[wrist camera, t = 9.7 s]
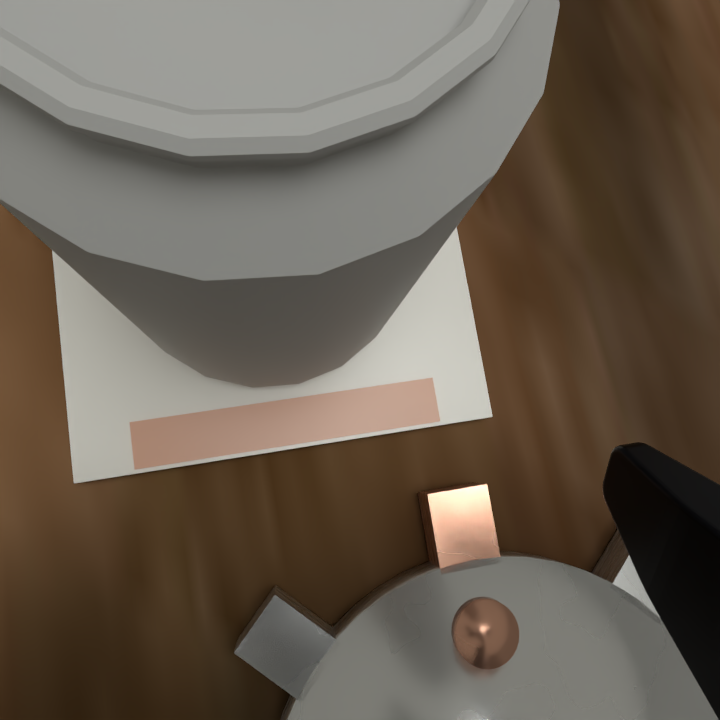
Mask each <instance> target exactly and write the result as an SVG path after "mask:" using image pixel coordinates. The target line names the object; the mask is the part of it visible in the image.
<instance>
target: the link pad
mask: <svg viewBox="0 0 720 720" xmlns="http://www.w3.org/2000/svg"><path fill="white" fill-rule="evenodd" d="M52 254H53V265H54V276H55V287H56V297H57V308H58V319H59V330H60V340H61V351H62V362H63V373H64V383H65V394H66V405H67V416H68V426H69V437H70V448H71V459H72V469H73V480H74V483H82V482H88V481H95V480H101V479H107V478H113V477H120V476H126V475H132V474H139V473H145V472H151V471H157V470H164V469H170V468H176V467H183V466H189V465H195V464H201V463H208V462H214V461H220V460H227V459H233V458H239V457H245V456H252V455H258V454H264V453H271V452H277V451H283V450H289V449H296V448H302V447H308V446H315V445H321V444H327V443H333V442H340V441H346V440H352V439H358V438H365V437H371V436H377V435H384V434H390V433H396V432H402V431H409V430H415V429H421V428H428V427H434V426H440V425H446V424H453V423H459V422H465V421H472V420H478V419H484V418H489V417H493V416H492V411H491V406H490V401H489V395H488V390H487V385H486V380H485V374H484V369H483V364H482V358H481V353H480V348H479V343H478V337H477V332H476V327H475V322H474V316H473V311H472V306H471V301H470V295H469V290H468V285H467V280H466V274H465V269H464V264H463V258H462V253H461V248H460V243H459V237H458V232H457V227H456V228H455V230H454V231H453V232H452V234H451V235H450V237H449V238H448V239H447V241H446V242H445V243H444V245H443V246H442V247H441V249H440V250H439V252H438V253H437V254H436V256H435V257H434V258H433V260H432V261H431V263H430V264H429V265H428V267H427V268H426V269H425V271H424V272H423V273H422V275H421V276H420V278H419V279H418V280H417V282H416V283H415V284H414V286H413V287H412V289H411V290H410V291H409V293H408V294H407V295H406V297H405V298H404V299H403V301H402V302H401V304H400V305H399V306H398V308H397V309H396V310H395V312H394V313H393V315H392V316H391V317H390V319H389V320H388V321H387V323H386V324H385V325H384V327H383V328H382V330H381V331H380V332H379V334H378V335H377V336H376V338H374V339H373V340H372V341H371V342H370V343H369V344H367V345H366V346H365V347H364V348H363V349H362V350H360V351H359V352H358V353H357V354H356V355H355V356H353V357H352V358H351V359H350V360H349V361H348V362H346V363H345V364H344V365H343V366H341V367H339V368H337V369H334V370H332V371H329V372H327V373H324V374H322V375H320V376H317V377H315V378H312V379H310V380H307V381H305V382H303V383H300V384H291V385H278V386H266V387H253V388H252V387H248V386H243V385H239V384H235V383H231V382H226V381H222V380H218V379H214V378H209V377H205V376H204V375H202V374H200V373H199V372H197V371H196V370H194V369H192V368H191V367H189V366H187V365H186V364H184V363H182V362H181V361H179V360H177V359H176V358H174V357H172V356H171V355H169V354H167V353H166V352H164V351H163V350H162V349H161V348H160V347H159V346H158V345H157V344H156V343H154V342H153V341H152V340H151V339H150V338H149V337H148V336H147V335H146V334H144V333H143V332H142V331H141V330H140V329H139V328H138V327H137V326H136V325H135V324H133V323H132V322H131V321H130V320H129V319H128V318H127V317H126V316H125V315H123V314H122V313H121V312H120V311H119V310H118V309H117V308H116V307H115V306H113V305H112V304H111V303H110V302H109V301H108V300H107V299H106V298H105V297H104V296H102V295H101V294H100V293H99V292H98V291H97V290H96V289H95V288H94V287H92V286H91V285H90V284H89V283H88V282H87V281H86V280H85V279H84V278H82V277H81V276H80V275H79V274H78V273H77V272H76V271H75V270H74V269H73V268H71V267H70V266H69V265H68V264H67V263H66V262H65V261H64V260H63V259H61V258H60V257H59V256H58V255H57V254H56V253H55V252H54V251H53V250H52Z"/></svg>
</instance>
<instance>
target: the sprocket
mask: <svg viewBox="0 0 720 720" xmlns="http://www.w3.org/2000/svg"><path fill="white" fill-rule="evenodd" d="M418 497H419V503H420V509H421V515H422V521H423V527H424V533H425V539H426V544H427V550H428V556H429V561H428V562H426V563H424V564H421V565H419V566H416V567H414V568H412V569H409V570H407V571H404V572H402V573H401V574H399V575H397V576H396V577H394V578H392V579H390V580H389V581H387V582H385V583H384V584H382V585H380V586H378V587H377V588H376V589H374V590H373V591H372V592H371V593H369V594H368V595H367V596H365V597H364V598H363V599H362V600H360V601H359V602H358V603H356V604H355V605H354V606H353V607H352V608H351V609H350V610H349V611H348V612H347V613H346V614H345V615H344V616H343V617H342V618H341V619H340V620H339V621H338V622H337V623H336V624H335V625H334V626H333V627H332V626H330V625H329V624H328V623H326V622H325V621H324V620H322V619H321V618H320V617H318V616H317V615H316V614H314V613H313V612H311V611H310V610H309V609H307V608H306V607H305V606H303V605H302V604H301V603H299V602H298V601H297V600H295V599H294V598H292V597H291V596H290V595H288V594H287V593H286V592H284V591H283V590H282V589H280V588H279V587H277V586H276V585H275V586H274V588H273V589H272V591H271V592H270V594H269V595H268V596H267V598H266V599H265V601H264V602H263V603H262V605H261V606H260V608H259V609H258V611H257V612H256V613H255V615H254V616H253V618H252V619H251V620H250V622H249V623H248V625H247V626H246V628H245V629H244V630H243V632H242V633H241V635H240V636H239V637H238V639H237V643H236V647H235V651H234V653H235V654H236V655H238V656H239V657H240V658H242V659H243V660H244V661H246V662H247V663H248V664H250V665H251V666H252V667H254V668H255V669H257V670H258V671H259V672H261V673H262V674H263V675H265V676H266V677H267V678H269V679H270V680H271V681H273V682H274V683H276V684H277V685H278V686H280V687H281V688H282V689H284V690H285V691H286V692H288V693H289V694H290V696H289V698H288V700H287V703H286V705H285V707H284V710H283V712H282V715H281V719H280V720H718V718H717V716H716V714H715V713H714V711H713V709H712V707H711V706H710V704H709V702H708V700H707V699H706V697H705V695H704V693H703V692H702V690H701V688H700V686H699V685H698V683H697V681H696V679H695V678H694V676H693V674H692V672H691V671H690V669H689V667H688V665H687V664H686V662H685V660H684V658H683V657H682V655H681V653H680V651H679V650H678V648H677V646H676V644H675V643H674V641H673V639H672V638H671V636H670V634H669V632H668V631H667V629H666V627H665V625H664V624H663V622H662V620H661V618H660V617H659V615H658V613H657V611H656V610H655V608H654V606H653V604H652V602H651V600H650V599H649V597H648V595H647V593H646V591H645V589H644V587H643V585H642V583H641V581H640V578H639V576H638V574H637V572H636V570H635V567H634V565H633V563H632V561H631V558H630V556H629V554H628V552H627V549H626V547H625V545H624V542H623V540H622V538H621V536H620V533H619V531H618V529H617V531H616V532H615V534H614V536H613V537H612V539H611V541H610V543H609V544H608V546H607V548H606V549H605V551H604V553H603V554H602V556H601V558H600V559H599V561H598V563H597V565H596V566H595V568H594V570H593V571H592V573H590V572H588V571H585V570H583V569H580V568H577V567H574V566H571V565H569V564H566V563H563V562H559V561H556V560H553V559H550V558H546V557H543V556H540V555H534V554H528V553H522V552H516V551H499V546H498V541H497V536H496V530H495V525H494V520H493V514H492V509H491V503H490V498H489V493H488V487H487V484H482V483H467V484H462V485H456V486H450V487H444V488H439V489H433V490H427V491H421V492H418Z"/></svg>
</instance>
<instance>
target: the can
mask: <svg viewBox="0 0 720 720" xmlns="http://www.w3.org/2000/svg"><path fill="white" fill-rule="evenodd" d="M559 7H560V4H559V0H0V203H1V204H2V205H3V206H4V207H5V208H6V209H7V210H8V211H9V212H11V213H12V214H13V215H14V216H15V217H16V218H17V219H18V220H19V221H21V222H22V223H23V224H24V225H25V226H26V227H27V228H28V229H29V230H30V231H32V232H33V233H34V234H35V235H36V236H37V237H38V238H39V239H40V240H42V241H43V242H44V243H45V244H46V245H47V246H48V247H49V248H50V249H51V250H53V251H54V252H55V253H56V254H57V255H58V256H59V257H60V258H61V259H63V260H64V261H65V262H66V263H67V264H68V265H69V266H70V267H71V268H73V269H74V270H75V271H76V272H77V273H78V274H79V275H80V276H81V277H82V278H84V279H85V280H86V281H87V282H88V283H89V284H90V285H91V286H92V287H94V288H95V289H96V290H97V291H98V292H99V293H100V294H101V295H102V296H104V297H105V298H106V299H107V300H108V301H109V302H110V303H111V304H112V305H113V306H115V307H116V308H117V309H118V310H119V311H120V312H121V313H122V314H123V315H125V316H126V317H127V318H128V319H129V320H130V321H131V322H132V323H133V324H135V325H136V326H137V327H138V328H139V329H140V330H141V331H142V332H143V333H144V334H146V335H147V336H148V337H149V338H150V339H151V340H152V341H153V342H154V343H156V344H157V345H158V346H159V347H160V348H161V349H162V350H163V351H164V352H166V353H167V354H169V355H171V356H172V357H174V358H176V359H177V360H179V361H181V362H182V363H184V364H186V365H187V366H189V367H191V368H192V369H194V370H196V371H197V372H199V373H200V374H202V375H204V376H205V377H209V378H214V379H218V380H222V381H226V382H231V383H235V384H239V385H243V386H248V387H252V388H253V387H266V386H278V385H291V384H300V383H303V382H305V381H307V380H310V379H312V378H315V377H317V376H320V375H322V374H324V373H327V372H329V371H332V370H334V369H337V368H339V367H341V366H343V365H344V364H345V363H346V362H348V361H349V360H350V359H351V358H352V357H353V356H355V355H356V354H357V353H358V352H359V351H360V350H362V349H363V348H364V347H365V346H366V345H367V344H369V343H370V342H371V341H372V340H373V339H374V338H376V336H377V335H378V334H379V332H380V331H381V330H382V328H383V327H384V325H385V324H386V323H387V321H388V320H389V319H390V317H391V316H392V315H393V313H394V312H395V310H396V309H397V308H398V306H399V305H400V304H401V302H402V301H403V299H404V298H405V297H406V295H407V294H408V293H409V291H410V290H411V289H412V287H413V286H414V284H415V283H416V282H417V280H418V279H419V278H420V276H421V275H422V273H423V272H424V271H425V269H426V268H427V267H428V265H429V264H430V263H431V261H432V260H433V258H434V257H435V256H436V254H437V253H438V252H439V250H440V249H441V247H442V246H443V245H444V243H445V242H446V241H447V239H448V238H449V237H450V235H451V234H452V232H453V231H454V230H455V228H456V227H457V226H458V224H459V223H460V221H461V220H462V219H463V217H464V216H465V215H466V213H467V212H468V211H469V209H470V208H471V206H472V205H473V204H474V202H475V201H476V200H477V198H478V197H479V196H480V194H481V193H482V191H483V190H484V189H485V187H486V186H487V185H488V183H489V182H490V180H491V179H492V178H493V176H494V175H495V174H496V172H497V170H498V169H499V167H500V165H501V164H502V162H503V160H504V159H505V157H506V155H507V154H508V152H509V150H510V149H511V147H512V145H513V143H514V142H515V140H516V138H517V137H518V135H519V133H520V132H521V130H522V128H523V127H524V125H525V123H526V122H527V120H528V118H529V116H530V115H531V113H532V111H533V110H534V108H535V106H536V105H537V103H538V101H539V100H540V98H541V96H542V95H543V93H544V87H545V82H546V77H547V71H548V66H549V60H550V55H551V50H552V44H553V39H554V34H555V28H556V23H557V17H558V12H559Z"/></svg>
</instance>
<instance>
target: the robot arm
mask: <svg viewBox="0 0 720 720" xmlns="http://www.w3.org/2000/svg"><path fill="white" fill-rule="evenodd" d="M603 496H604V499H605V502H606V504H607V506H608V509H609V511H610V513H611V515H612V518H613V520H614V522H615V524H616V527H617V529H618V531H619V533H620V536H621V538H622V540H623V542H624V545H625V547H626V549H627V552H628V554H629V556H630V558H631V561H632V563H633V565H634V567H635V570H636V572H637V574H638V576H639V578H640V581H641V583H642V585H643V587H644V589H645V591H646V593H647V595H648V597H649V599H650V600H651V602H652V604H653V606H654V608H655V610H656V611H657V613H658V615H659V617H660V618H661V620H662V622H663V624H664V625H665V627H666V629H667V631H668V632H669V634H670V636H671V638H672V639H673V641H674V643H675V644H676V646H677V648H678V650H679V651H680V653H681V655H682V657H683V658H684V660H685V662H686V664H687V665H688V667H689V669H690V671H691V672H692V674H693V676H694V678H695V679H696V681H697V683H698V685H699V686H700V688H701V690H702V692H703V693H704V695H705V697H706V699H707V700H708V702H709V704H710V706H711V707H712V709H713V711H714V713H715V714H716V716H717V718H718V720H720V485H719V484H717V483H716V482H714V481H712V480H710V479H708V478H707V477H705V476H703V475H701V474H699V473H698V472H696V471H694V470H692V469H690V468H689V467H687V466H685V465H683V464H681V463H680V462H678V461H676V460H674V459H672V458H671V457H669V456H667V455H665V454H663V453H662V452H660V451H658V450H656V449H654V448H653V447H651V446H649V445H647V444H645V443H640V442H638V443H631V444H625V445H619V446H617V447H615V448H614V449H613V451H612V453H611V456H610V459H609V463H608V467H607V470H606V474H605V477H604V481H603Z"/></svg>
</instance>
